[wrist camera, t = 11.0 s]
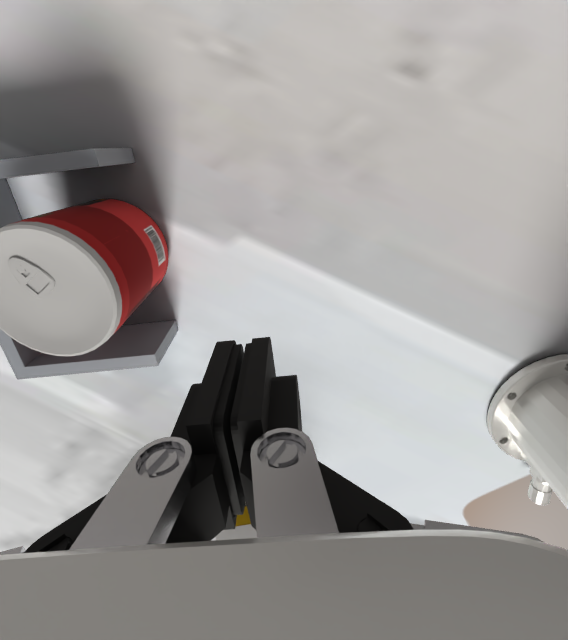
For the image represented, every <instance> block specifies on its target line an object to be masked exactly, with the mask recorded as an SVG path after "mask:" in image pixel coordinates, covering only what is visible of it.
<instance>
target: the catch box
mask: <svg viewBox="0 0 568 640" xmlns="http://www.w3.org/2000/svg"><path fill="white" fill-rule="evenodd" d="M128 163H135V160H134V156H133V152H132V148H92V149H83V150H75V151H67V152H59V153H51V154H43V155H34V156H26V157H18V158H10V159H2V160H0V228H2V227H4V226H6V225H8V224H11V223H15V222H18V221H21V220H22V218H21V216H20V213H19V211H18V208H17V206H16V203H15V201H14V198H13V196H12V193H11V191H10V188H9V186H8V183H7V180H6V178H11V177H19V176H28V175H36V174H44V173H53V172H61V171H69V170H78V169H86V168H94V167H103V166H111V165H119V164H128ZM177 331H178V328H177V324H176V320H173V321H164V322H154V323H144V324H134V325H124V326H121V327H120V328H119V329H118V330H117V331H116V332H115V333H114V334H113V335H112V336H111V337H110V338H109V339H108V341H106V342H105V343H103V344H102V345H101V346H99V347H98V348H96V349H95V350H93V351H91V352H88V353H85V354H82V355H76V356H55V355H50V354H45V353H42V352H39V351H36V350H33V349H31V348H29V347H27V346H25V345H23V344H21V343H19V342H17V341H16V340H14V339H13V338H11V337H10V336H8V335H7V334H6V333H5V332H4V331H2V330H1V329H0V345H1V347H2V349H3V351H4V353H5V355H6V357H7V359H8V361H9V363H10V365H11V367H12V370H13V372H14V374H15V376H16V378H17V379H27V378H37V377H48V376H58V375H68V374H79V373H89V372H99V371H110V370H120V369H130V368H141V367H151V366H158V365H159V363H160V361H161V360H162V358H163V356H164V354H165V353H166V351H167V349H168V347H169V345H170V344H171V342H172V340H173V338H174V337H175V335H176V333H177Z"/></svg>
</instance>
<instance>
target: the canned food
mask: <svg viewBox="0 0 568 640" xmlns="http://www.w3.org/2000/svg"><path fill="white" fill-rule="evenodd" d="M167 266H168V249H167V243H166V241H165V238H164V235H163V233H162V232H161V230H160V228H159V226H158V225H157V224H156V223H155V222H154V220H153V219H152V218H151V217H150V216H149V215H147V214H146V213H145V212H144V211H142V210H141V209H139V208H137V207H136V206H133V205H131V204H129V203H126V202H124V201H120V200H115V199H99V200H94V201H90V202H87V203H83V204H79V205H75V206H72V207H68V208H64V209H61V210H57V211H53V212H50V213H46V214H42V215H39V216H35V217H31V218H28V219H24V220H21V221H18V222H15V223H11V224H8V225H6V226H4V227H2V228H0V329H1V330H2V331H4V332H5V333H6V334H7V335H8V336H10V337H11V338H13V339H14V340H16V341H17V342H19V343H21V344H23V345H25V346H27V347H29V348H31V349H33V350H36V351H39V352H42V353H45V354H50V355H55V356H76V355H82V354H85V353H88V352H91V351H93V350H95V349H96V348H98V347H99V346H101V345H102V344H103V343H105V342H106V341H108V339H109V338H110V337H111V336H112V335H113V334H114V333H115V332H116V331H117V330H118V329H119V328H120V327H121V326H122V325H123V323H124V322H125V321H126V320H127V319H128V318H129V317H130V316H131V314H132V313H133V312H134V311H135V310H136V309H137V308H138V307H139V305H140V304H141V303H142V302H143V301H144V300H145V299H146V298H147V297H148V295H149V294H150V293H151V292H152V291H153V290H154V289H155V288H156V286H157V285H158V284H159V283H160V282H161V281H162V279H163V277H164V275H165V274H166V270H167Z"/></svg>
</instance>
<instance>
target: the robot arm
mask: <svg viewBox="0 0 568 640" xmlns="http://www.w3.org/2000/svg"><path fill="white" fill-rule="evenodd" d="M487 426H488V430H489V433H490V435H491V437H492V439H493V440H494V441H495V443H496V444H497V445H498V447H499V448H500V449H501V450H502V451H504V452H505V453H506V454H507V455H510V456H512V457H514V458H516V459H519V460H523V461H526V462H527V464H528V465H529V466H530V474H531V476H532V477H533V479H532V480H531V482H530V486H529V490H528V497H529V498H530V500H532V501H533V502H534V503H536V504H539V505H547V504H549V502H550V498H551V494H552V491H554V492H555V494H556V495H557V496H558V498H559V499H560V500H561V501H562V503H563V504H564V505H565V506H566V508H567V509H568V354H561V355H557V356H552V357H547V358H545V359H542V360H539V361H536V362H534V363H532V364H530V365H528V366H526V367H524V368H523V369H521V370H520V371H518V372H517V373H515V374H514V375H513V376H511V377H510V378H509V379H508V380H507V381H506V382H505V383H504V384H503V385H502V386H501V387H500V389H499V390H498V391H497V393H496V394H495V396H494V398H493V400H492V402H491V404H490V406H489V410H488V414H487ZM245 500H246V505H247V509H248V513H249V517H250V522H251V526H252V527H253V528H254V529H255V530H256V532H257V538H247V539H230V540H216V536H217V535H218V534H219V533H220V532H221V531H223V530H229V529H235V526H236V518H237V515H243V513H244V508H245ZM0 640H568V550H567V549H564V548H562V547H558V546H554V545H551V544H547V543H544V542H543V541H541V540H539V539H538V538H535V537H531V536H528V535H524V534H519V533H512V532H505V531H498V530H492V529H485V528H478V527H471V526H464V525H457V524H450V523H443V522H436V521H429V520H425V524H424V525H418V524H411V523H409V521H408V520H407V519H406V518H405V517H403V516H402V515H401V514H400V513H399V512H397V511H396V510H394V509H393V508H391V507H389V506H388V505H386V504H385V503H383V502H382V501H380V500H378V499H377V498H375V497H374V496H372V495H371V494H369V493H367V492H366V491H364V490H363V489H361V488H360V487H358V486H357V485H355V484H353V483H352V482H350V481H349V480H347V479H346V478H344V477H342V476H341V475H339V474H338V473H336V472H335V471H333V470H331V469H330V468H328V467H327V466H325V465H324V464H322V463H320V462H319V461H317V457H316V454H315V451H314V447H313V444H312V442H311V440H310V438H309V437H308V436H307V435H306V434H305V433H303V432H302V424H301V410H300V399H299V390H298V381H297V375H291V376H280V377H276V374H275V367H274V359H273V352H272V345H271V339H270V337H265V338H254V339H252V343H249V344H246V347H245V352H243V347H242V344H238V345H236V342H235V340H233V341H222V342H217V343H216V345H215V348H214V351H213V354H212V356H211V359H210V362H209V364H208V367H207V370H206V373H205V375H204V378H203V381H202V383H200V384H193V385H192V386H191V388H190V390H189V393H188V395H187V398H186V400H185V403H184V405H183V408H182V410H181V412H180V415H179V417H178V420H177V422H176V425H175V427H174V430H173V432H172V434H171V437H165V438H161V439H158V440H155V441H153V442H151V443H149V444H147V445H145V446H144V447H143V448H141V449H140V450H139V451H138V452H137V453H136V454H135V455H134V456H133V458H132V459H131V461H130V462H129V463H128V465H127V466H126V468H125V469H124V471H123V472H122V474H121V475H120V476H119V478H118V479H117V481H116V482H115V484H114V485H113V487H112V488H111V490H110V491H109V492H108V494H107V495H105V496H104V497H102V498H101V499H99V500H98V501H96V502H95V503H93V504H91V505H90V506H88V507H87V508H85V509H84V510H82V511H81V512H79V513H78V514H76V515H74V516H73V517H71V518H70V519H68V520H67V521H65V522H64V523H62V524H60V525H59V526H57V527H56V528H54V529H53V530H51V531H50V532H48V533H47V534H45V535H43V536H42V537H41V538H39V539H38V540H37V541H36V542H34V543H33V544H32V545H31V546H30V547H29V548H28V549H27V550H25V549H24V547H23V546H22V547H18V548H14V549H11V550H7V551H3V552H0Z"/></svg>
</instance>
